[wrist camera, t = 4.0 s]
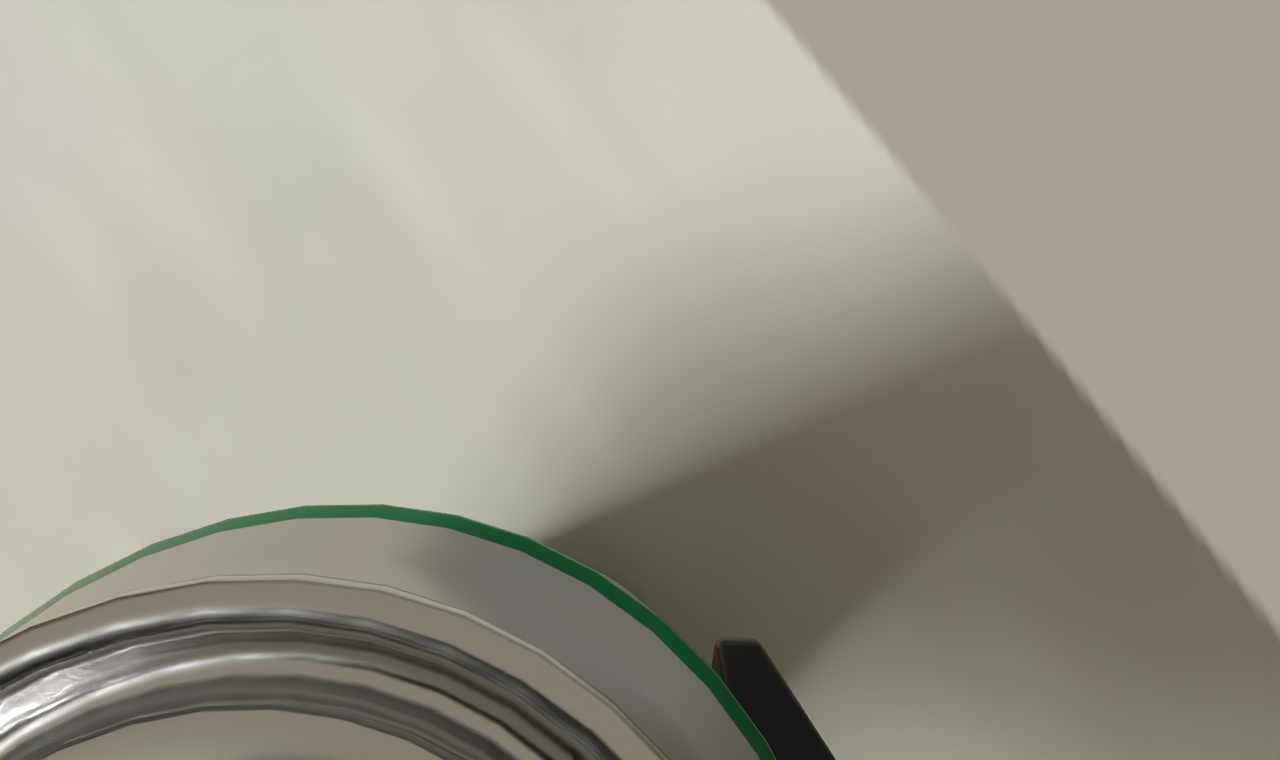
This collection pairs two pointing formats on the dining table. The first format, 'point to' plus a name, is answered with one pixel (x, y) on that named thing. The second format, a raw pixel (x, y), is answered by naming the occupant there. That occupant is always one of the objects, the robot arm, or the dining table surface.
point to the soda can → (358, 652)
